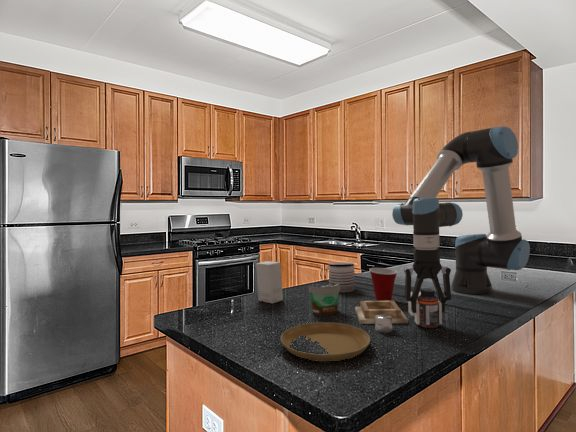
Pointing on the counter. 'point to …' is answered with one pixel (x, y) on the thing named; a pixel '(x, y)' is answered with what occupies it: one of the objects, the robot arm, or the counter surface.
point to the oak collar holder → (379, 311)
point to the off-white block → (410, 305)
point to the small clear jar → (383, 323)
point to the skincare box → (269, 281)
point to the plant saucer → (328, 340)
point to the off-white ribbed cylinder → (342, 276)
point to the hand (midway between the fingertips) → (428, 322)
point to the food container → (325, 299)
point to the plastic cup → (383, 283)
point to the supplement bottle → (428, 308)
